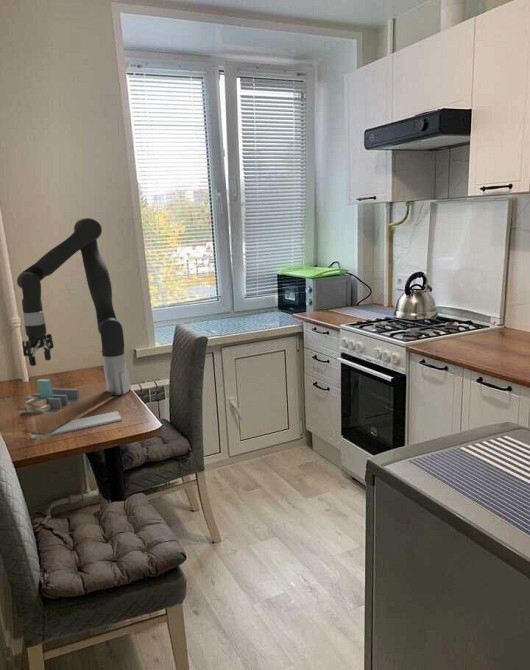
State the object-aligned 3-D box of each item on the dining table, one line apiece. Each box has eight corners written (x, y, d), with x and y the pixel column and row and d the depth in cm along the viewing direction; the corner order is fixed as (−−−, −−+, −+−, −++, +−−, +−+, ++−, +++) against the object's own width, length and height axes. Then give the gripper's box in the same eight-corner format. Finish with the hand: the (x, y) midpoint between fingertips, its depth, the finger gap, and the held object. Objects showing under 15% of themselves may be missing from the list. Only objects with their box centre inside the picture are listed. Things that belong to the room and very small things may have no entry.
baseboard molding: (31, 429, 188) (32, 441, 177) (30, 422, 187) (30, 433, 176) (117, 412, 200) (122, 422, 189) (116, 405, 199) (121, 415, 189)
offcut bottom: (50, 409, 202) (50, 404, 202) (44, 412, 199) (43, 407, 198) (34, 408, 205) (33, 403, 204) (27, 411, 201) (26, 406, 200)
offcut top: (47, 404, 202) (46, 399, 202) (40, 407, 199) (39, 402, 198) (32, 403, 204) (31, 398, 204) (25, 406, 201) (24, 402, 200)
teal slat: (54, 405, 207) (50, 379, 204) (51, 406, 205) (47, 381, 202) (44, 404, 208) (40, 379, 206) (41, 406, 206) (36, 380, 204)
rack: (80, 401, 214) (79, 388, 213) (51, 417, 197) (49, 404, 196) (49, 399, 219) (47, 387, 218) (17, 415, 201) (15, 402, 200)
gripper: (29, 326, 191) (36, 368, 195) (54, 319, 205) (60, 358, 208) (13, 326, 194) (20, 367, 197) (39, 319, 207) (45, 358, 210)
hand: (40, 362), depth 203 cm, fingers open, 8 cm apart
